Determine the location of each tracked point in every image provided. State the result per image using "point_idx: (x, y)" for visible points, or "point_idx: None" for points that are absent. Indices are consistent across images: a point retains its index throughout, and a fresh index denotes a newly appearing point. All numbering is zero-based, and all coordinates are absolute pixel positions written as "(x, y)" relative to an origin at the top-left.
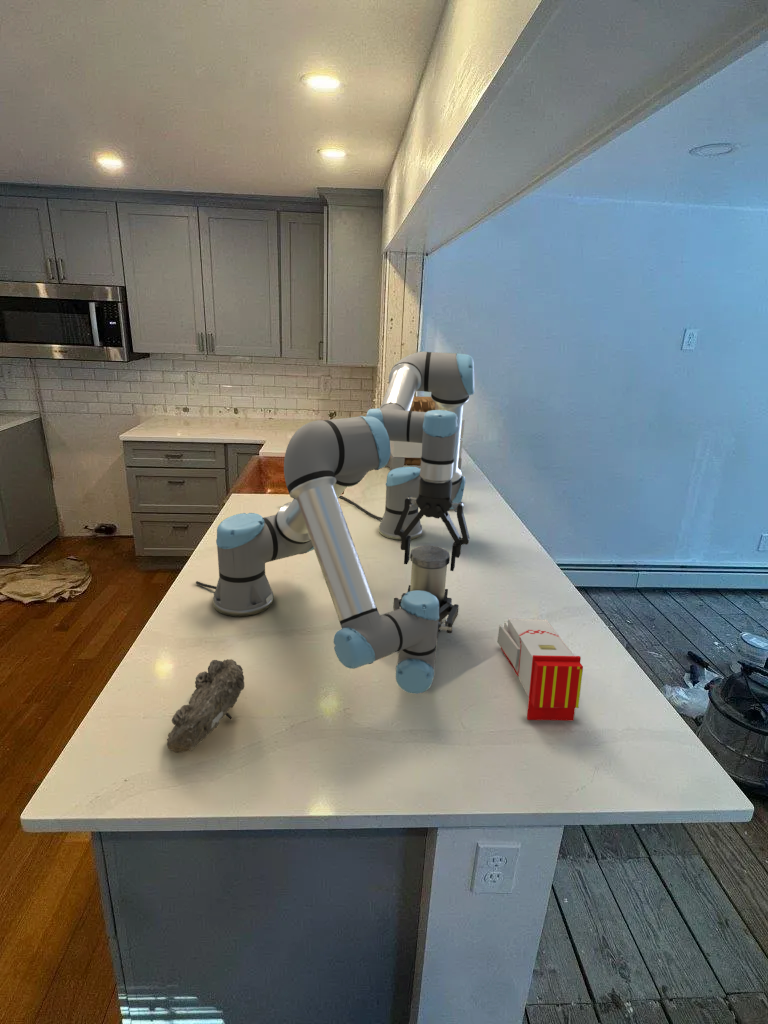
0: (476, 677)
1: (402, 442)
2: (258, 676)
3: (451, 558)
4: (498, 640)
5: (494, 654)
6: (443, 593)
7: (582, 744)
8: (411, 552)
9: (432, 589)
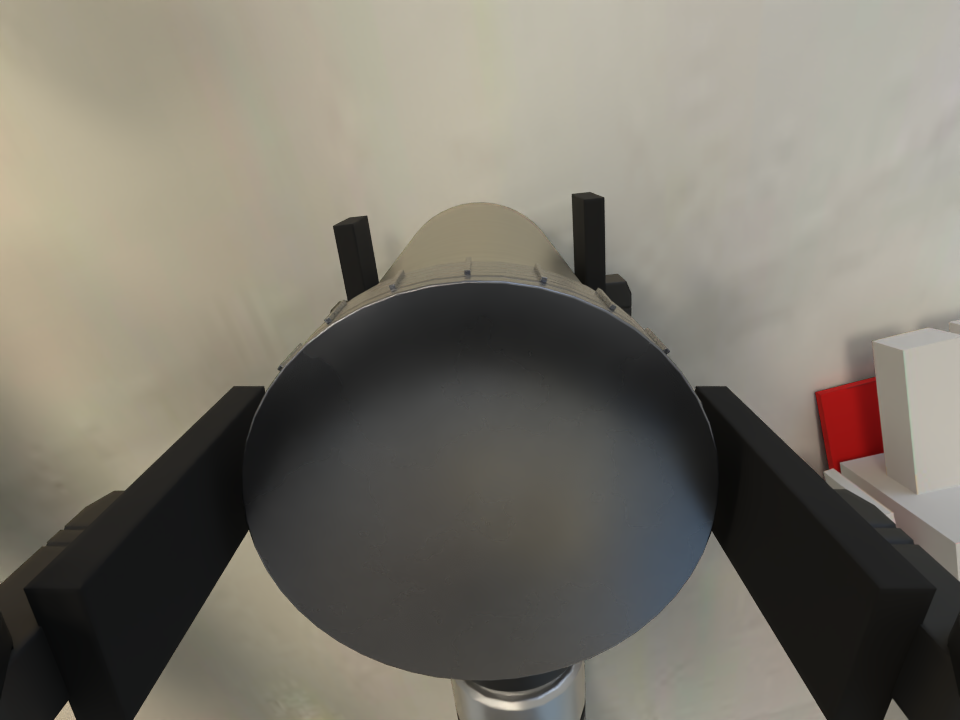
0: (703, 561)
1: None
2: None
3: (737, 568)
4: (833, 487)
5: (782, 426)
6: None
7: None
8: (266, 556)
9: None
